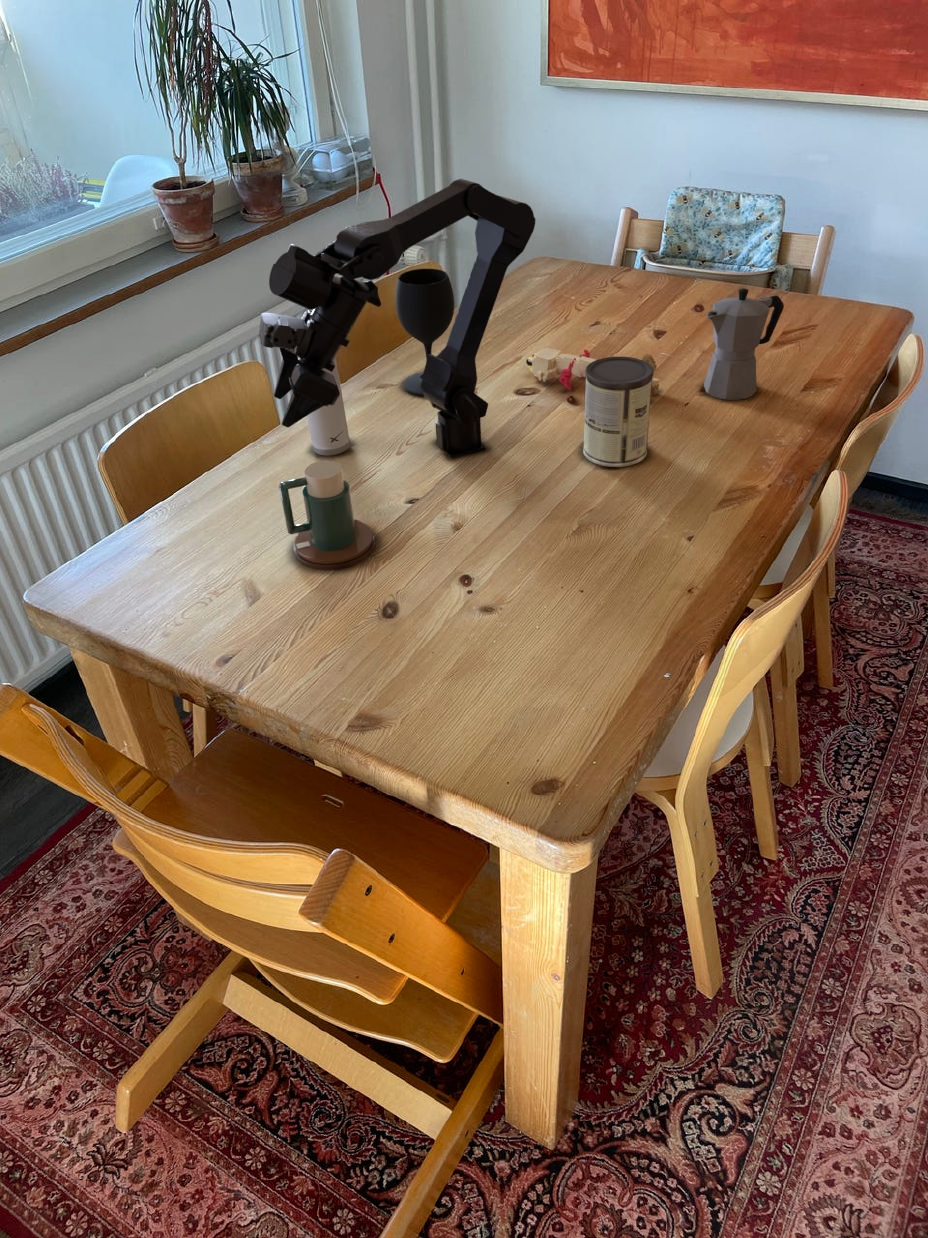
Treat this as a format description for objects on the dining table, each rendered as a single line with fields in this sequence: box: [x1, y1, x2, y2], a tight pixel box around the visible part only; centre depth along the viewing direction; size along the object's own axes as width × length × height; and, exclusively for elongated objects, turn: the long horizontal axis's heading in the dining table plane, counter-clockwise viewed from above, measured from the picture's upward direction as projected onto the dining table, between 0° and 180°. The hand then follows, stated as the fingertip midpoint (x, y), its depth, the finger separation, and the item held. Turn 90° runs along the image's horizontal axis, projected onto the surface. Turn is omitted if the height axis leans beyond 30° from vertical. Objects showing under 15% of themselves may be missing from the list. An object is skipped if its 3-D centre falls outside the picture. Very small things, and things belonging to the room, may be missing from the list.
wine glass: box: [394, 268, 455, 397], centre depth 169 cm, size 10×10×20 cm
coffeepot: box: [703, 287, 785, 401], centre depth 162 cm, size 15×9×18 cm, turn 113°
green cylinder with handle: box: [278, 460, 373, 564], centre depth 129 cm, size 12×11×12 cm
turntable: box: [292, 531, 377, 571], centre depth 133 cm, size 12×12×1 cm
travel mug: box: [306, 357, 351, 456], centre depth 151 cm, size 6×7×20 cm
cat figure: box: [524, 347, 660, 396], centre depth 169 cm, size 10×9×25 cm
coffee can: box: [582, 356, 655, 468], centre depth 147 cm, size 10×10×14 cm
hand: (280, 411), depth 137 cm, fingers open, 9 cm apart
